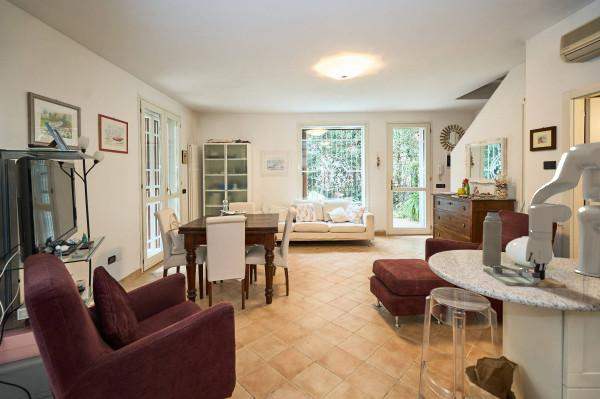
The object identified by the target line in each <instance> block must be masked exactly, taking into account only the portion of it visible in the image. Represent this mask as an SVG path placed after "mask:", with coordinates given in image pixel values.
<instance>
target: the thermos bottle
mask: <svg viewBox="0 0 600 399" xmlns="http://www.w3.org/2000/svg"><path fill="white" fill-rule="evenodd" d="M499 212H500V211H499V210H496V209H495V210H493V209H488V210H487V214H486V216H485V218H484V221H483V224H482V225H483V226H482V227H483V231H482V232H483V233H482V257H481V258H482V259H481V261H482V265H483V266H486V267H487V266H488V267H491V268H493V266H501V267H502V241H503V240H502V239H503V221H502V220H501V216H500V215H499Z"/></svg>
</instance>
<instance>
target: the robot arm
mask: <svg viewBox="0 0 600 399" xmlns="http://www.w3.org/2000/svg"><path fill="white" fill-rule="evenodd" d="M580 180H582V181H581V194H582V195H581V196H582V199H583V200H584V201H585V202H590V203H600V141H595V142H587V143H580V144H576V145H573V146H571V147H570V149H569V150H567V151H565V152H564V153H563V154H562V155H561V156H560V158H559V161H558V164H557V167H556V169H555V171H554V173H553V177H552V179H551V180H550V181H549V182H547V183H546V184H544V185H543V186H542V187H540V188H539V189H538V190H537V191H536V192H534V194H533V195H532V198H531V199H530V202H529V203H528V204H529V205H528V208H527V215H528V239H527V241H526V249H525V261H526V262H528V263H529V266H530V267H532V268H533V269H532V270H534V272H539V273H540V276H539V278H540V280H545V275H546V269H547V265H549V263H550V262H551V261H552V260H553V242H552V240H553V223H565V222H567V221H569V220H570V219H571V218H572V216H573V215H572V214H573V213H572V212H573V211H572V209H571V208H570V207H569V205H566V204H562V203H561V204H559V203H546V201H547V200H548V199H550V198H551V197H554V196H556V195H558V194H561V193H565V192H567V191H568V192H569V191H570V190H573V189H575V188H577V187H578V186H579V183H580ZM576 216H577V222H578V248H577V250H578V252H577V253H578V254H577V255H578V256H577V266H575V267H573V268H572V271H573V272H575V274H579V275H583V276H588V277H594V278H600V204H586V205H582V206H581V207H579V208H578V209H577V213H576Z"/></svg>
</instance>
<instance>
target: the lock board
mask: <svg viewBox="0 0 600 399" xmlns="http://www.w3.org/2000/svg"><path fill="white" fill-rule="evenodd" d="M482 270H483V272H485V273H486V274H488V275H489V276H491V277H492V278H494V279H496V280H497V281H498V282H500V283H502V284H503V285H505V286H517V287H518V286H520V287H521V286H523V287H524V286H526V287H541V288H542V287H546V288H547V287H548V288H549V287H550V288H567V284H566V283H563V282H561V281H559V280H557V279H554V278H552V277H551V276H548V275H546V274H545V280H540V283H533V282H531V281H530V280H528V279H527V278H525V277H524V276H520V275H518V273H519V269H510V268H508V269H507V268H503V266H502V265H501V266H493V267H492V268H485V267H484V268H483V269H482ZM533 271H534V269H529V272H531V273H532V272H533Z"/></svg>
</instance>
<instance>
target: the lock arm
mask: <svg viewBox="0 0 600 399" xmlns="http://www.w3.org/2000/svg"><path fill="white" fill-rule="evenodd" d="M518 270H519V273H518V275H520V276H524V277H525V278H527V279H528V280H530V281H531V282H533V283H540V278H539V276H540V273H539V272H534V271H533V272H532V273H531V272H529V270H530V268H528V267H525V266H524V267H521V266H520V267H518Z"/></svg>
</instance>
